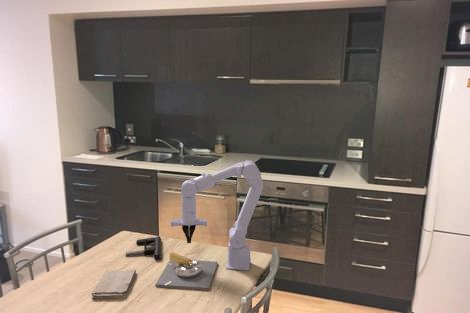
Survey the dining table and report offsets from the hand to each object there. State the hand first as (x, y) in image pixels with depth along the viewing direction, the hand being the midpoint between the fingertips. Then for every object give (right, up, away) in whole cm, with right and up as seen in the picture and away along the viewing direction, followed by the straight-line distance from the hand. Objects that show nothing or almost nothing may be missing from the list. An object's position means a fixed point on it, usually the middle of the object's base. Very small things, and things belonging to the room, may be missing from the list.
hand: (189, 242), depth 144 cm
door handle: (-22, -8, +15) cm, 28 cm away
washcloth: (-26, -14, -13) cm, 32 cm away
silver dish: (-1, -10, -4) cm, 11 cm away
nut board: (0, -12, -5) cm, 13 cm away
